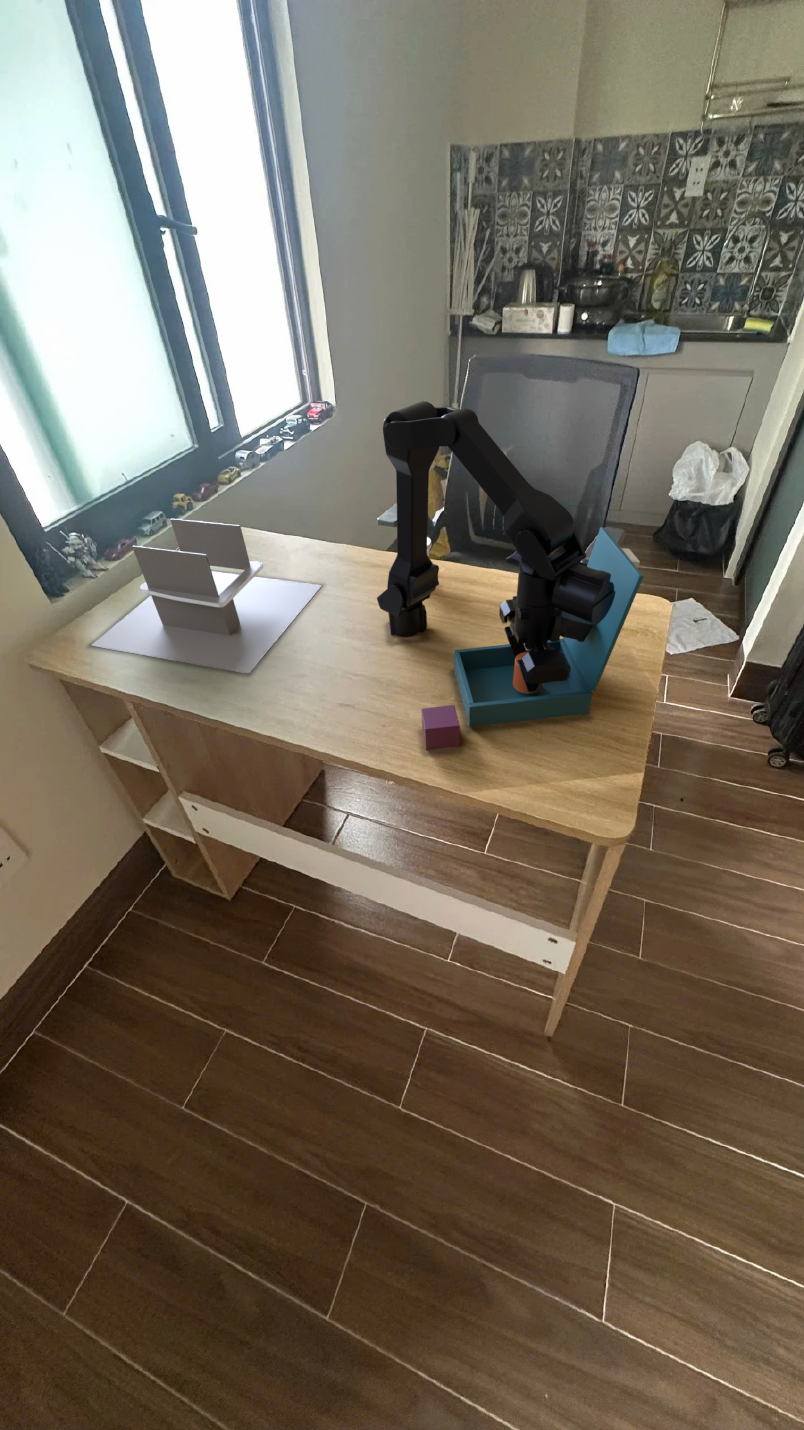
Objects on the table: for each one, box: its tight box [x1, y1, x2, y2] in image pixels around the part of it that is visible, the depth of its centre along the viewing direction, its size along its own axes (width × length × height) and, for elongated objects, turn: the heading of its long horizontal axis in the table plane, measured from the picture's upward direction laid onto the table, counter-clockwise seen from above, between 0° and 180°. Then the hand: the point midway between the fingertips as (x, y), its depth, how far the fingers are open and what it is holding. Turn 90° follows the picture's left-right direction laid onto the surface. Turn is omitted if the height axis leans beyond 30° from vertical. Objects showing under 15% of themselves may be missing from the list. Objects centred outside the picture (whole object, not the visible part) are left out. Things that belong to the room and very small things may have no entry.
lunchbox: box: [453, 637, 593, 728], centre depth 96 cm, size 19×15×5 cm
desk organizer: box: [90, 518, 322, 675], centre depth 115 cm, size 31×35×17 cm
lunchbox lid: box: [562, 526, 644, 693], centre depth 88 cm, size 19×15×3 cm
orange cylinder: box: [513, 652, 542, 694], centre depth 95 cm, size 5×5×5 cm
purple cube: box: [420, 704, 461, 751], centre depth 89 cm, size 5×5×5 cm
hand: (527, 681), depth 96 cm, fingers closed on orange cylinder, 4 cm apart
